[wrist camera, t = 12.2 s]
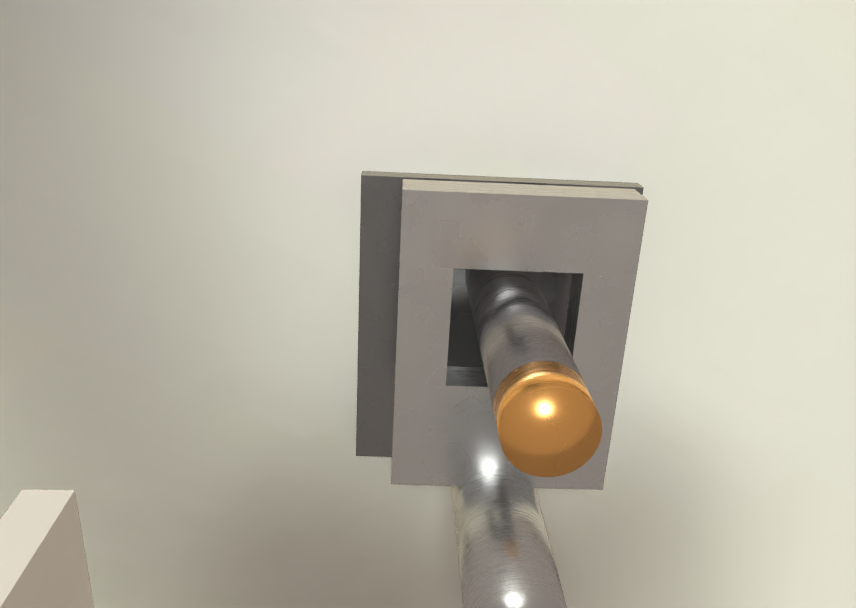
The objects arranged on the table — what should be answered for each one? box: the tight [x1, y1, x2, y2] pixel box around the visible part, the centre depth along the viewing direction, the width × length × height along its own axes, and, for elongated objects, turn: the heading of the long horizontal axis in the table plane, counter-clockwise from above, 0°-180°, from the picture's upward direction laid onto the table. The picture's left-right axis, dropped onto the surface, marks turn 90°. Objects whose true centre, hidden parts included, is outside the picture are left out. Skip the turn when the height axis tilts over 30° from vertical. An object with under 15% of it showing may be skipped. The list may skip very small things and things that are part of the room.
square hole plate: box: [356, 171, 648, 608], centre depth 34 cm, size 17×14×16 cm
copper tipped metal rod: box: [465, 269, 602, 477], centre depth 33 cm, size 3×3×16 cm
